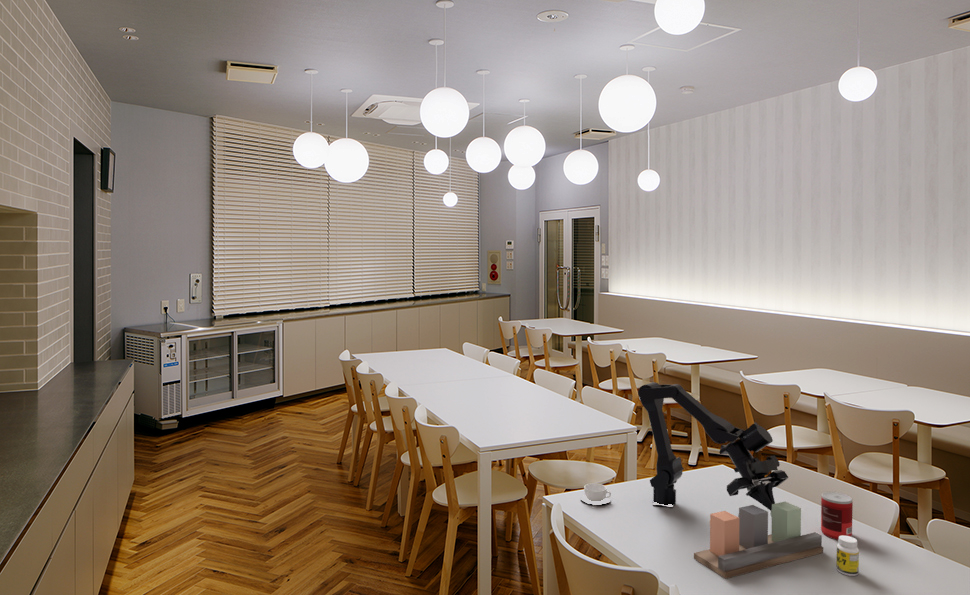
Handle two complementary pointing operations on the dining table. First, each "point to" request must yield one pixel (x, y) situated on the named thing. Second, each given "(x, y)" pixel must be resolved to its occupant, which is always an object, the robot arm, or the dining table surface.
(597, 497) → the teacup
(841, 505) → the canned food
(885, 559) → the dining table surface
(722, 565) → the wooden display stand
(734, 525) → the pink upright block
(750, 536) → the gray rectangular block
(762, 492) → the robot arm
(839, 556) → the supplement bottle
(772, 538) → the sage green block
